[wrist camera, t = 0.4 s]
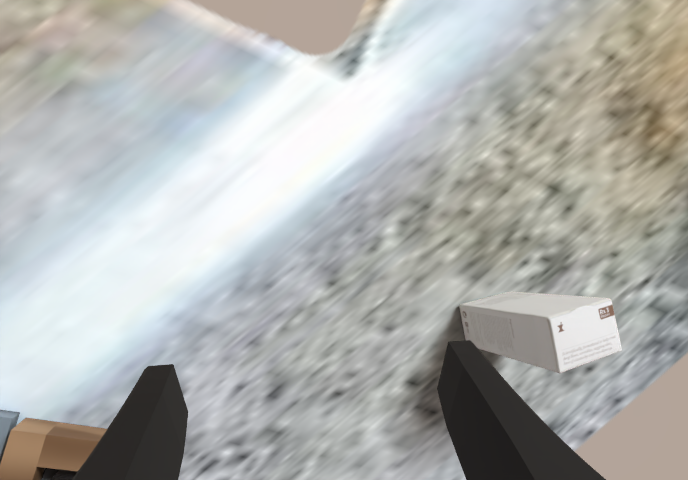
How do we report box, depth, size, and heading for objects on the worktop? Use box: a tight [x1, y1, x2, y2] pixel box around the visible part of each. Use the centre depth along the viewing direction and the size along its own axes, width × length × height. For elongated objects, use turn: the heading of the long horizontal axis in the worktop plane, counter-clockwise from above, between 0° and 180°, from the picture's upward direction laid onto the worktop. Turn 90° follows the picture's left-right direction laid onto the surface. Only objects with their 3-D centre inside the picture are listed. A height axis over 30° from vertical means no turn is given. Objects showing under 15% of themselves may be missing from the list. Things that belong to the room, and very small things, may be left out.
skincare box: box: [459, 292, 622, 373], centre depth 37 cm, size 6×4×12 cm
